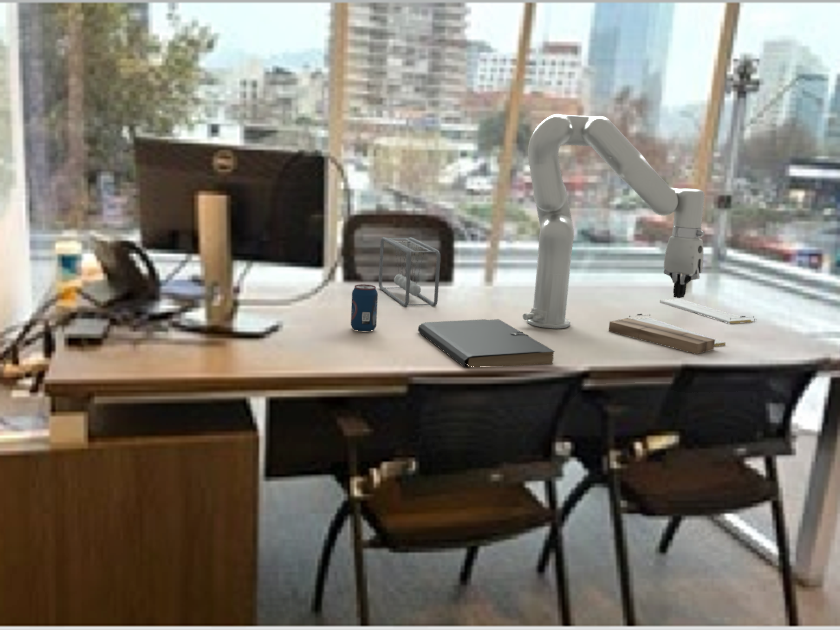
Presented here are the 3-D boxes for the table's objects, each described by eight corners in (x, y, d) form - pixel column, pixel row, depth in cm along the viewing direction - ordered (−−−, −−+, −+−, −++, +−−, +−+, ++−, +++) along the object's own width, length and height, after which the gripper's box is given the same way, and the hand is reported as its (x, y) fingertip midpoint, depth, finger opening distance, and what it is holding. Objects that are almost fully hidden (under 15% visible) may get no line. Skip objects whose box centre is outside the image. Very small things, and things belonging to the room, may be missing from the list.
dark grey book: (555, 349, 208) (464, 355, 200) (554, 365, 209) (463, 372, 201) (499, 317, 239) (418, 321, 231) (498, 332, 240) (417, 336, 232)
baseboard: (698, 350, 233) (724, 347, 238) (700, 340, 232) (726, 337, 237) (624, 323, 259) (649, 322, 263) (625, 314, 258) (650, 313, 263)
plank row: (696, 354, 226) (697, 343, 225) (608, 331, 246) (609, 321, 245) (713, 349, 232) (715, 339, 231) (626, 327, 252) (627, 317, 251)
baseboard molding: (685, 302, 296) (659, 304, 291) (686, 294, 296) (660, 296, 290) (756, 323, 270) (729, 326, 264) (757, 314, 269) (730, 317, 264)
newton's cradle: (377, 288, 287) (380, 236, 283) (407, 287, 291) (410, 236, 287) (405, 308, 260) (408, 250, 256) (437, 307, 263) (441, 251, 259)
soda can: (349, 326, 234) (350, 283, 231) (374, 326, 235) (375, 284, 233) (352, 332, 227) (354, 288, 225) (378, 333, 229) (380, 289, 226)
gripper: (717, 235, 236) (709, 300, 240) (669, 229, 246) (662, 291, 251) (703, 237, 231) (695, 303, 235) (655, 230, 241) (648, 294, 246)
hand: (678, 297), depth 243 cm, fingers closed
